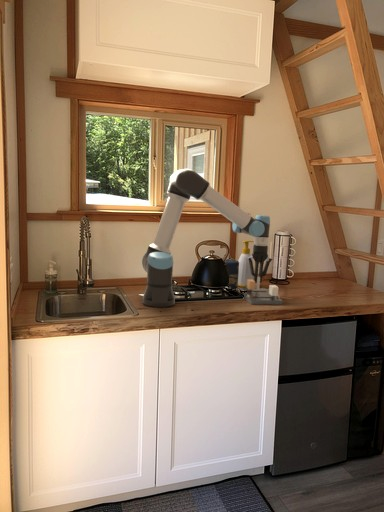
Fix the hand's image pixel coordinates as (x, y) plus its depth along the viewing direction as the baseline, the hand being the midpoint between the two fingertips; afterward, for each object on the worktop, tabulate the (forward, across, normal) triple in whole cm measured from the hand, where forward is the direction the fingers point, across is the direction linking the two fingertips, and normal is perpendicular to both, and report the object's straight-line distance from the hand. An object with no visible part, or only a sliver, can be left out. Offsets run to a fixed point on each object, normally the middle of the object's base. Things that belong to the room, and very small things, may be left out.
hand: (257, 288), depth 230 cm
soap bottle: (+4, -1, +23) cm, 23 cm away
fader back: (+1, -4, 0) cm, 4 cm away
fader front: (+1, +4, -13) cm, 14 cm away
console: (+3, -1, -6) cm, 7 cm away
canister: (+4, -14, +7) cm, 16 cm away
